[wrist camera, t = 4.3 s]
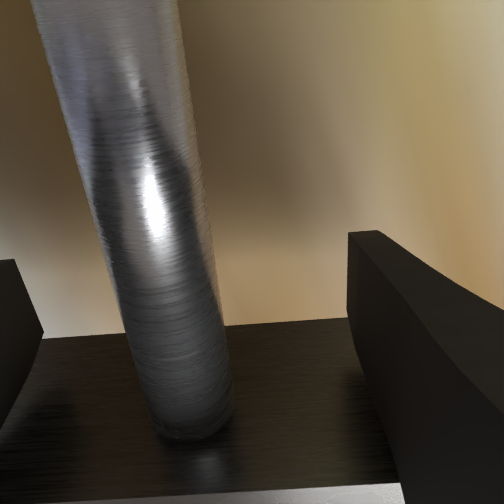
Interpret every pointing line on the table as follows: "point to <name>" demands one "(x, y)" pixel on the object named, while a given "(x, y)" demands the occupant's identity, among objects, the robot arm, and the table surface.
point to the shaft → (174, 316)
